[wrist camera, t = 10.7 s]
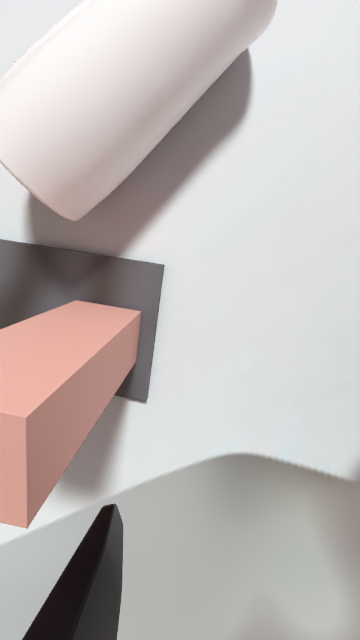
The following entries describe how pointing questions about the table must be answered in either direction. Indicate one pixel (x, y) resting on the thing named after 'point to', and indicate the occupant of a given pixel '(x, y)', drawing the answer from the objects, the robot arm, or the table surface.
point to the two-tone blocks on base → (82, 293)
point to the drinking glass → (113, 90)
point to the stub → (56, 394)
